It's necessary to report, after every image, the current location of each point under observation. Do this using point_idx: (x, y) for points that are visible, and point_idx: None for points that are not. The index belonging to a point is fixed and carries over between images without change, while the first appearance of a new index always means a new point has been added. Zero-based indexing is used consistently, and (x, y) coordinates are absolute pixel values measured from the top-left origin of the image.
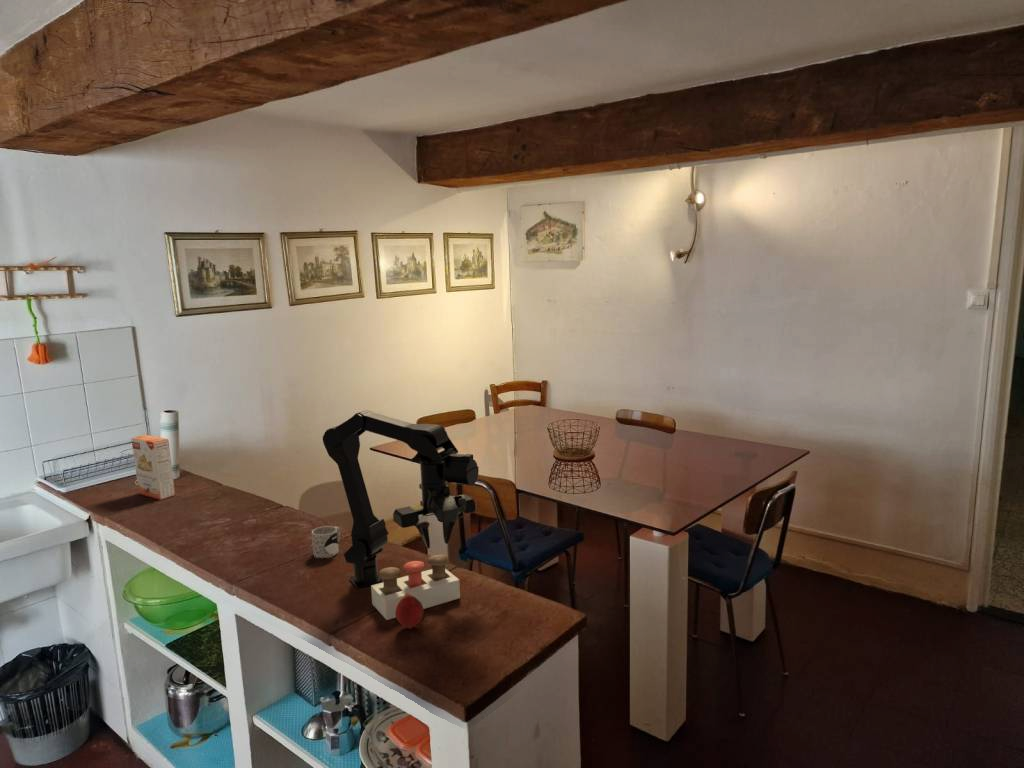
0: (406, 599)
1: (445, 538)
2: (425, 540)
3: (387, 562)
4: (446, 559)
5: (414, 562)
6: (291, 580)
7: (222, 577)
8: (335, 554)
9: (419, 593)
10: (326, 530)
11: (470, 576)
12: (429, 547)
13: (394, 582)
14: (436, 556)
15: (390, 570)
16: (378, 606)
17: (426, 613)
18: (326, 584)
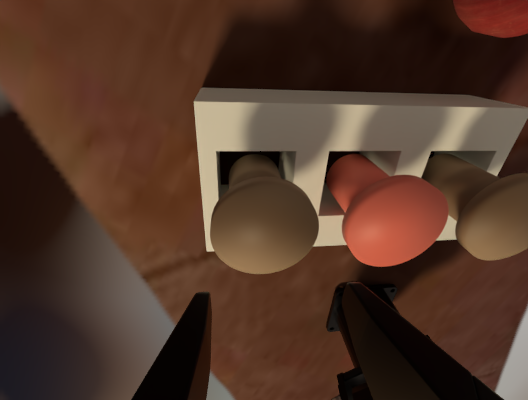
0: None
1: (208, 337)
2: (423, 340)
3: (277, 352)
4: (231, 202)
5: (377, 251)
6: (446, 352)
7: (496, 386)
8: (339, 398)
9: (389, 103)
10: None
11: (109, 213)
12: (353, 285)
13: (481, 177)
14: (259, 258)
15: (503, 230)
16: None
17: (358, 52)
18: (420, 322)
